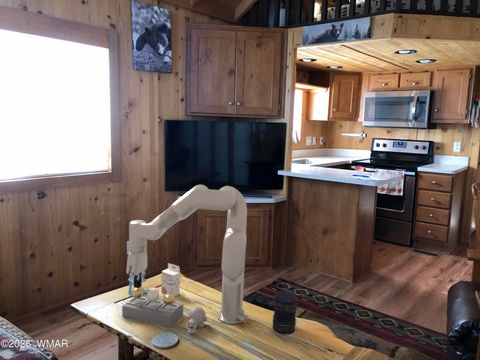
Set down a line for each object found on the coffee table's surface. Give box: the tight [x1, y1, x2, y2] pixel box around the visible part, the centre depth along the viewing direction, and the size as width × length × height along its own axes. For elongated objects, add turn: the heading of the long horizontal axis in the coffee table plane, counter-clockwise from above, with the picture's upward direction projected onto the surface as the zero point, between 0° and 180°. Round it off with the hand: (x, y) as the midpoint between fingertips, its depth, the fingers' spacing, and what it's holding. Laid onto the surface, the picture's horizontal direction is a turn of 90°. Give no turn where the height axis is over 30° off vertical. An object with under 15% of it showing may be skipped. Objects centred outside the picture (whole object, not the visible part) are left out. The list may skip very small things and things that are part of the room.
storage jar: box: [272, 290, 298, 336], centre depth 161 cm, size 10×10×15 cm
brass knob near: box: [162, 293, 176, 304], centre depth 165 cm, size 5×5×3 cm
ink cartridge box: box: [161, 262, 181, 297], centre depth 190 cm, size 9×5×15 cm, turn 58°
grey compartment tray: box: [121, 295, 184, 328], centre depth 168 cm, size 24×12×6 cm, turn 72°
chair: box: [127, 271, 148, 296], centre depth 190 cm, size 8×8×12 cm
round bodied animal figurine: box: [186, 306, 208, 335], centre depth 158 cm, size 7×12×8 cm, turn 159°
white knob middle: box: [147, 287, 160, 301], centre depth 167 cm, size 5×5×4 cm
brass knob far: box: [131, 286, 145, 298], centre depth 170 cm, size 5×5×3 cm
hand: (137, 286), depth 169 cm, fingers closed
